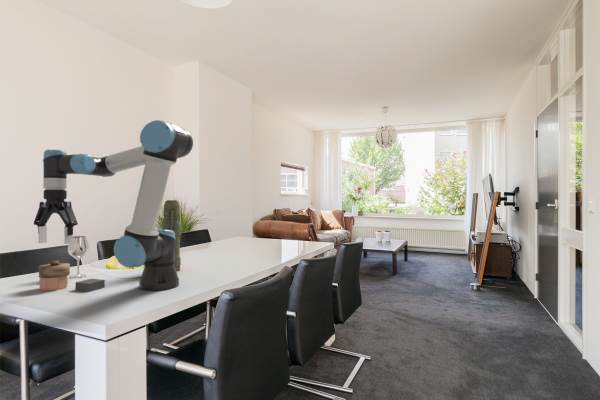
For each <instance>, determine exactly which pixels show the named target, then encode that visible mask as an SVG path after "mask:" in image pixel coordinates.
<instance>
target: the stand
mask: <svg viewBox="0 0 600 400" xmlns="http://www.w3.org/2000/svg"><path fill="white" fill-rule="evenodd" d="M105 282H106V279H98V278H87V279H84V280H80V281H75V285H74V286H75V291H79V290H80V292H87V293H88V292H93V290H94V291H97V290H100V289H104V288H105V286H106V285H105V284H106V283H105Z"/></svg>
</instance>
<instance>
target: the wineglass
mask: <svg viewBox="0 0 600 400" xmlns="http://www.w3.org/2000/svg"><path fill="white" fill-rule="evenodd" d="M67 245H68V246H67V253H68V254H69V255H70V256H71V257H73V259H75V260H76V274H75V275H74V274H73V275H70V276H69V278H70V279H80V278H79V277H81V278H85V277H87V274H80V261H81V259H82V258H83V257H85V256H86V255H87V254H88V252H89V249H90V246H89V242H88V239H87V236H85V235H84V236H83V235H77V236H72V244H67Z"/></svg>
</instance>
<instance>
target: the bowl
mask: <svg viewBox="0 0 600 400" xmlns="http://www.w3.org/2000/svg"><path fill="white" fill-rule="evenodd" d="M68 284H69V275H67V276H63V277H57V278H40V277H39V290H40V291H42V292H51V291H52V292H53V291H58V290H59V291H60V290H64V289H67V288H68ZM66 287H67V288H66Z"/></svg>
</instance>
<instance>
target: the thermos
mask: <svg viewBox="0 0 600 400" xmlns="http://www.w3.org/2000/svg"><path fill="white" fill-rule="evenodd" d="M180 216H181V206H180V202H179V200H176V199H175V200H171V199H169V200H168V199H167V200H166V201H164V205H163V221H162V224H161V230H172V231H174V233H175V239H176V240H175V269H176V272H177V271H178V272H180V271H181V265H182V264H181V263H182V261H181V260H182V259H181V255H180V254H181V253H180V251H181V250H180V249H181V248H180V246H181V244H180V243H181V235H182V223H181V221H180V220H181V219H180ZM178 272H177V273H178Z"/></svg>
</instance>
